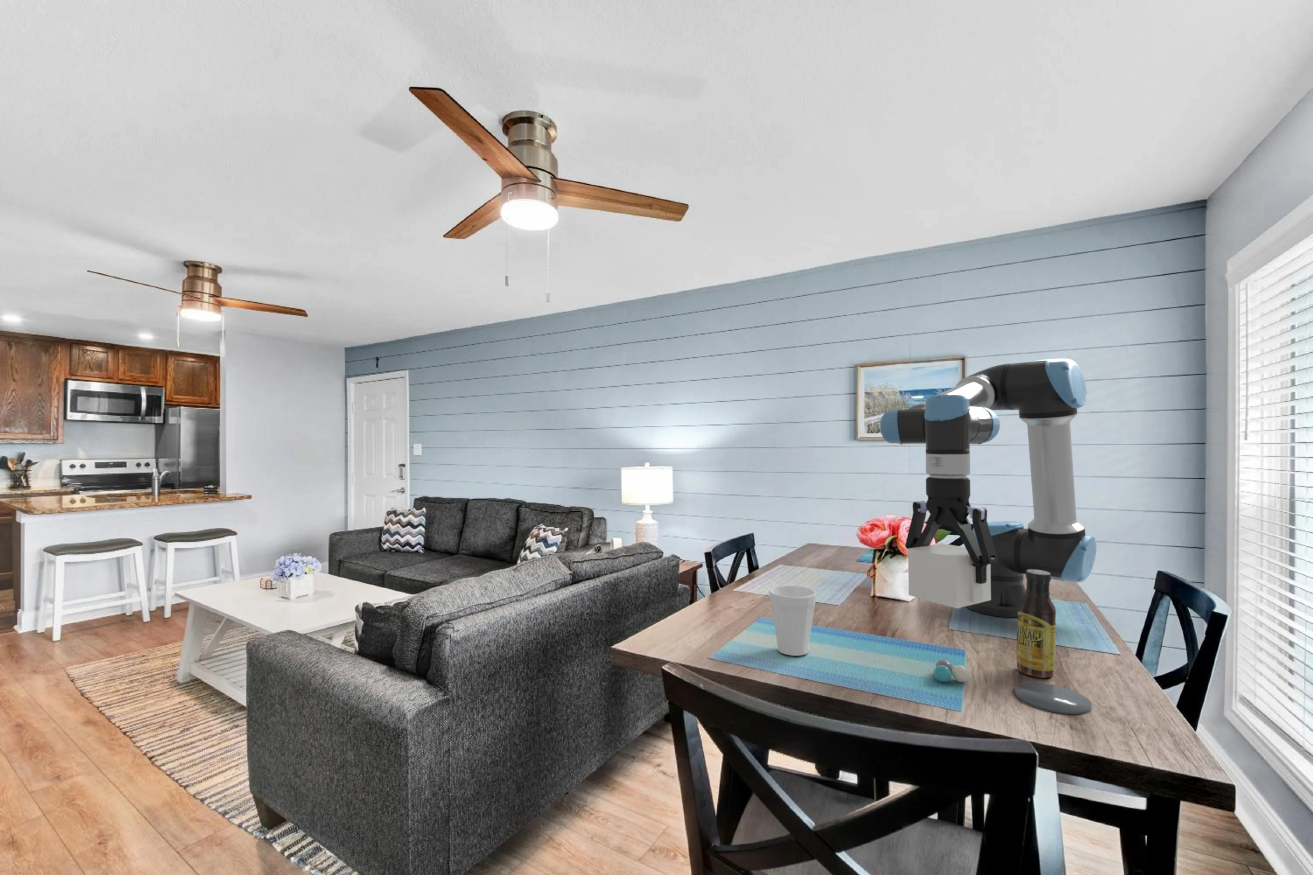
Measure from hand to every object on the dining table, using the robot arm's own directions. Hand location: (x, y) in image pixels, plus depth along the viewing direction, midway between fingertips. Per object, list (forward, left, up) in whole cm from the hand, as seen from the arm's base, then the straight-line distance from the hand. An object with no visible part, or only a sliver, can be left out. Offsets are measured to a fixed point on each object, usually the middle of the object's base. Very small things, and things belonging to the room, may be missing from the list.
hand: (949, 593), depth 110 cm
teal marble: (+2, 0, -16) cm, 16 cm away
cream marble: (-1, +2, -16) cm, 16 cm away
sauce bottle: (-17, +6, -16) cm, 25 cm away
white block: (0, 0, -1) cm, 1 cm away
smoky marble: (-1, -2, -16) cm, 16 cm away
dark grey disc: (-8, +14, -16) cm, 23 cm away
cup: (+16, -25, -16) cm, 34 cm away
